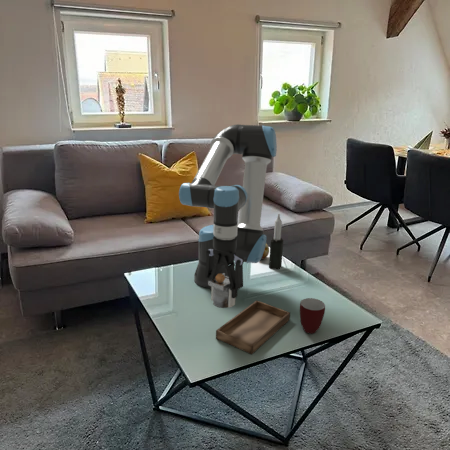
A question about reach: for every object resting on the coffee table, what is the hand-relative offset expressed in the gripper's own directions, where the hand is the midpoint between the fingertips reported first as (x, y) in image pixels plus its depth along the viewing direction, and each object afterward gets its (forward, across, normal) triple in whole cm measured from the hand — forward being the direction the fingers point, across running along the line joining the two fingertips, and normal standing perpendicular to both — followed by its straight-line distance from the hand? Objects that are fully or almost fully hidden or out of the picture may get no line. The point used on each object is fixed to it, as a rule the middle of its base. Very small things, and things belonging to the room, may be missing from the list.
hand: (222, 302), depth 136 cm
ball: (-7, -1, 0) cm, 7 cm away
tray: (+9, +9, +6) cm, 14 cm away
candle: (+9, -11, +54) cm, 55 cm away
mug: (+9, +24, +18) cm, 31 cm away
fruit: (+8, -21, +57) cm, 62 cm away
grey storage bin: (0, 0, 0) cm, 0 cm away
